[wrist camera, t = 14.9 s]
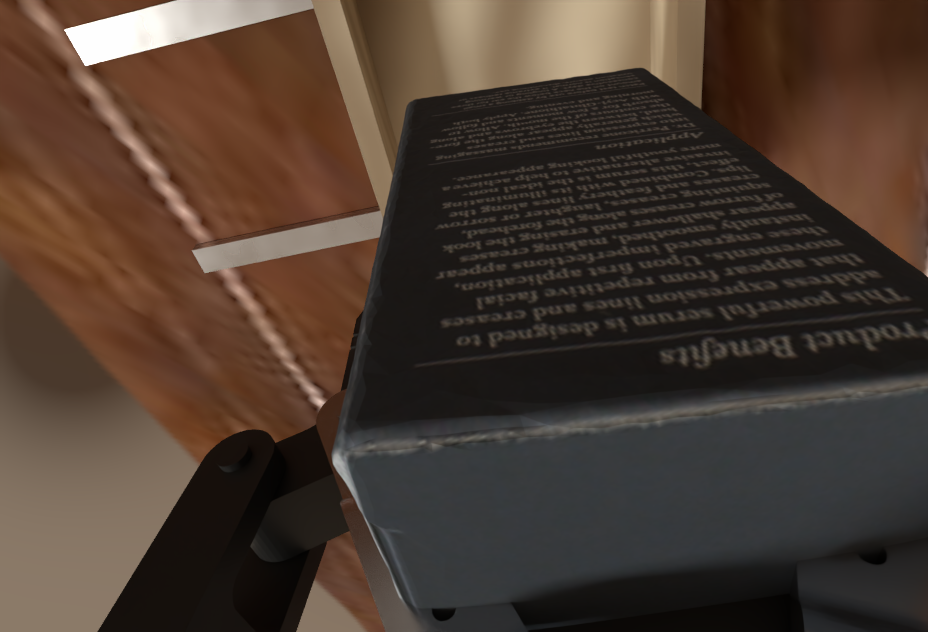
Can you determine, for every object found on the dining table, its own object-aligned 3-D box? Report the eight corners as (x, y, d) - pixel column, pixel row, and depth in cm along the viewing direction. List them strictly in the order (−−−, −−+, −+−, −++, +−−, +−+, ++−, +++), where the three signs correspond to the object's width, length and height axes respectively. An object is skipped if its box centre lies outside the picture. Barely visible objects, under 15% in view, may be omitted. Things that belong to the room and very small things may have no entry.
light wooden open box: (653, -130, 23) (711, -143, 18) (655, 185, 31) (695, 236, 26) (329, -45, 24) (299, -36, 19) (412, 234, 32) (407, 292, 27)
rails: (669, -129, 23) (675, -130, 23) (667, 172, 31) (671, 176, 31) (72, 27, 26) (64, 29, 26) (208, 267, 34) (204, 273, 34)
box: (633, 331, 17) (824, 757, 8) (450, 353, 17) (455, 783, 9) (650, 56, 12) (1113, 377, 4) (401, 92, 13) (305, 464, 4)
